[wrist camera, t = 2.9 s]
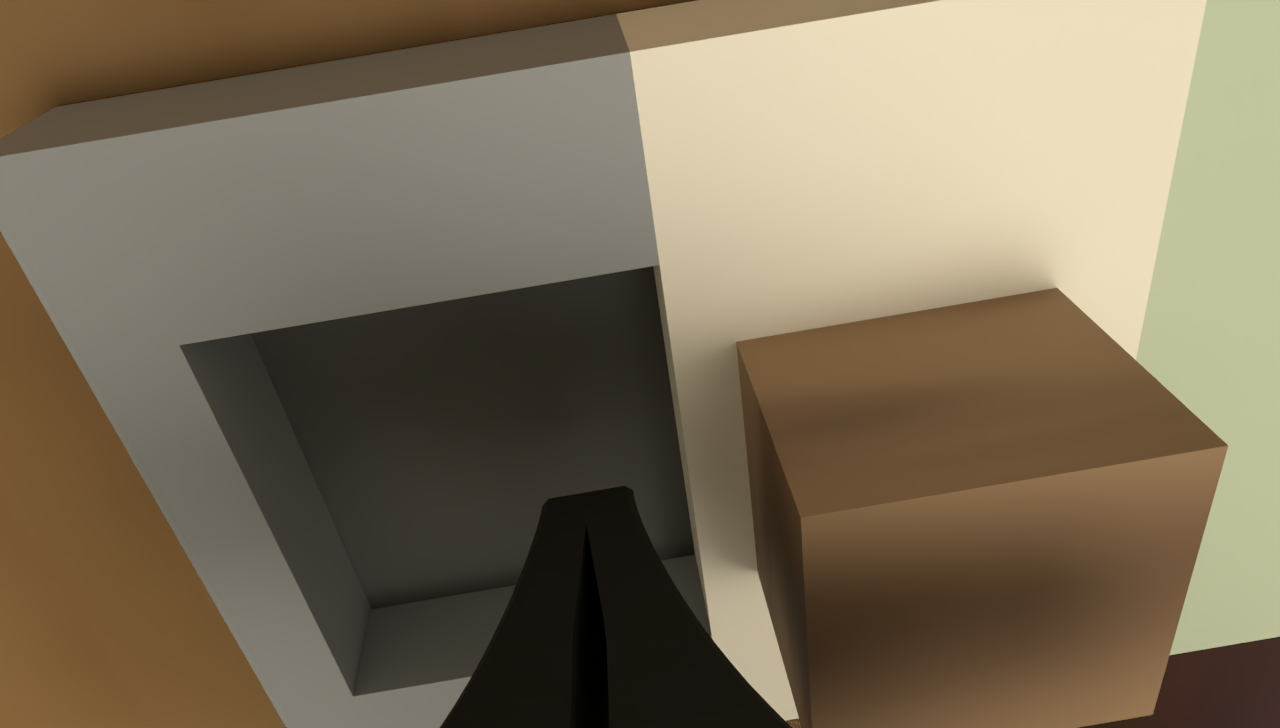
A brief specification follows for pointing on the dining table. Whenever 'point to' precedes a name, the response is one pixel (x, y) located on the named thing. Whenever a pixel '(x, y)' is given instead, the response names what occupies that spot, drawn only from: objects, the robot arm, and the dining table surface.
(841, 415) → the walnut block
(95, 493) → the dining table surface
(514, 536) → the trap lane
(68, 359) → the dining table surface
